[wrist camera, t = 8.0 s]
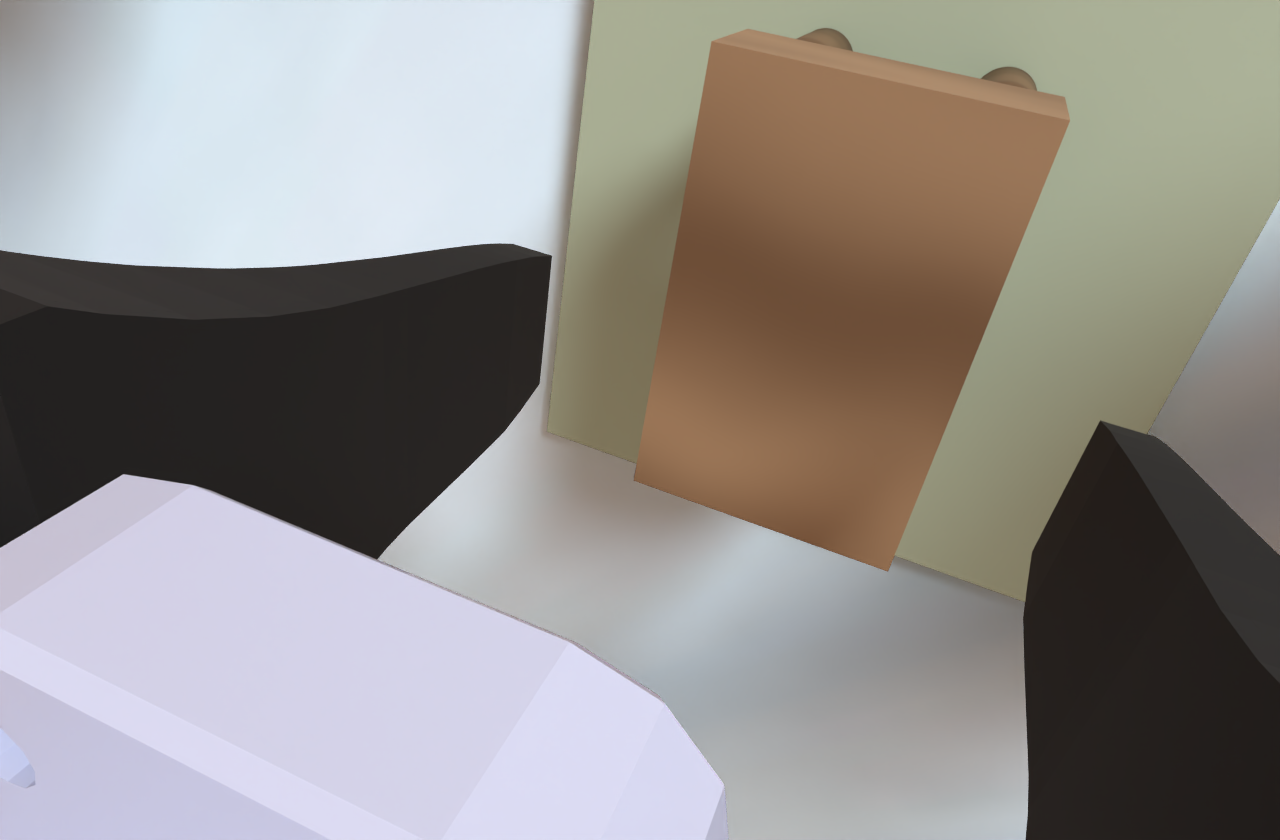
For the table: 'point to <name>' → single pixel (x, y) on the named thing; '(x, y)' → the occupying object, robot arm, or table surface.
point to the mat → (1044, 264)
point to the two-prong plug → (835, 280)
